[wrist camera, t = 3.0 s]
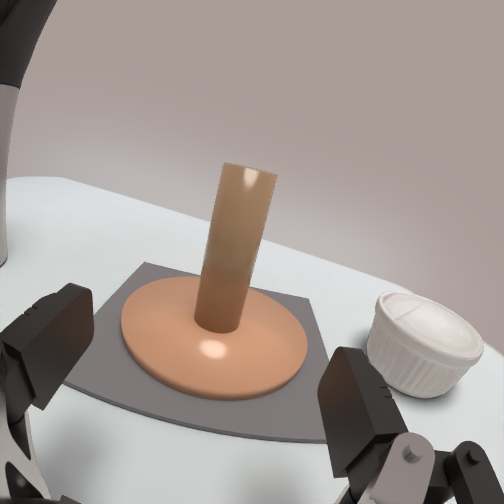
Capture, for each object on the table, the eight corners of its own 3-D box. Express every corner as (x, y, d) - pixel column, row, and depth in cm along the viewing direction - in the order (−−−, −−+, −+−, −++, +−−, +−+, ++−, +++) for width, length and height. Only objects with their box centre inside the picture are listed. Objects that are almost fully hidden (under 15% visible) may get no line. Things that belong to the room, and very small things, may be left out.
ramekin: (357, 322, 28) (376, 278, 26) (442, 350, 25) (464, 310, 23) (350, 389, 18) (382, 331, 16) (463, 418, 15) (500, 369, 13)
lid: (97, 298, 20) (108, 143, 16) (226, 277, 30) (252, 165, 26) (191, 437, 11) (245, 180, 8) (335, 351, 21) (391, 209, 18)
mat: (47, 376, 12) (46, 371, 12) (144, 265, 29) (144, 261, 29) (349, 442, 13) (352, 439, 13) (307, 301, 30) (308, 298, 30)
